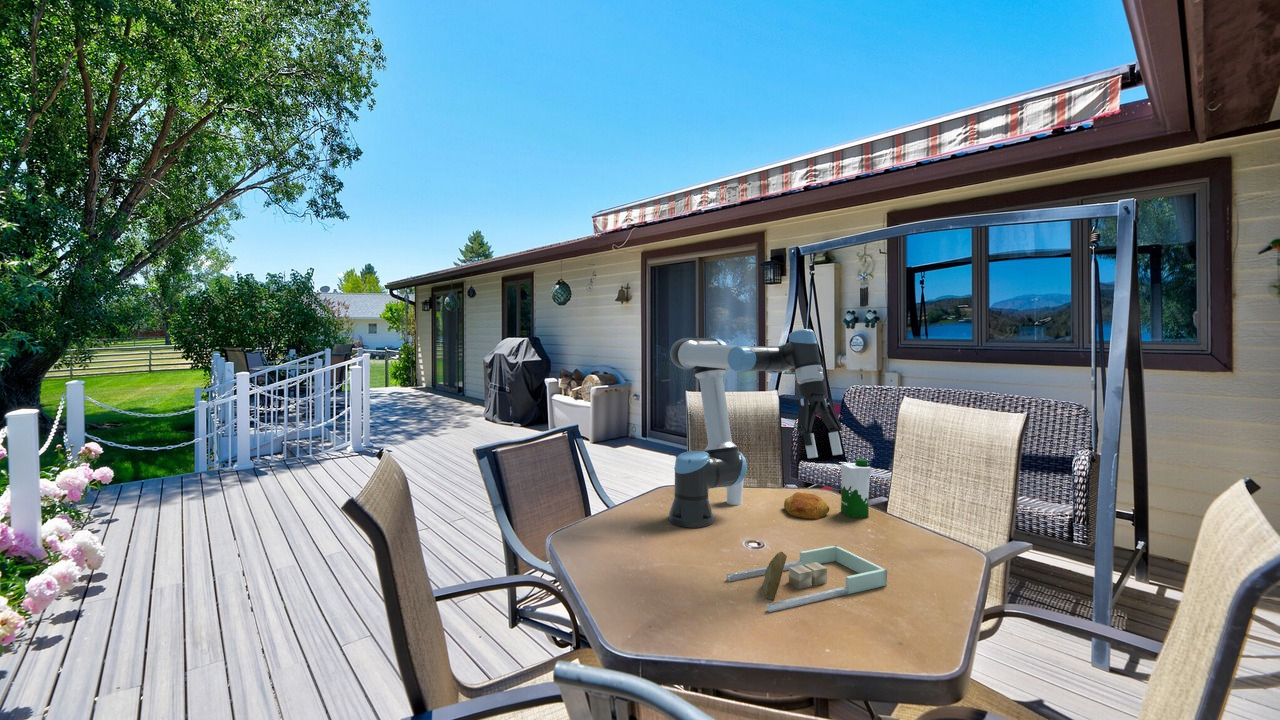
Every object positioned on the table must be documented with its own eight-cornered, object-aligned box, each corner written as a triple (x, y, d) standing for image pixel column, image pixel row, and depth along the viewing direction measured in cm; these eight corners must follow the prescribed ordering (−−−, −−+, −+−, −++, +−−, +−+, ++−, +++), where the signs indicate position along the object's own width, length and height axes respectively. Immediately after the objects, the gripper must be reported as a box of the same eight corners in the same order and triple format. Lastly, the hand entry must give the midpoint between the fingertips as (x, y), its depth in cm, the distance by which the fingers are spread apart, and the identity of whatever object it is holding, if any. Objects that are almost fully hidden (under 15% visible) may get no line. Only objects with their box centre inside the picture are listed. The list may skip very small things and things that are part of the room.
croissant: (791, 510, 209) (789, 489, 209) (833, 512, 199) (831, 490, 200) (777, 519, 197) (775, 496, 197) (821, 522, 188) (818, 498, 188)
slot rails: (769, 612, 125) (769, 605, 125) (726, 580, 142) (726, 574, 142) (848, 594, 135) (848, 588, 135) (799, 565, 152) (799, 560, 152)
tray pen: (848, 594, 135) (848, 578, 135) (799, 565, 152) (800, 551, 151) (886, 585, 140) (887, 570, 140) (835, 559, 157) (835, 545, 157)
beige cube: (814, 585, 140) (815, 570, 140) (803, 579, 143) (804, 564, 143) (826, 583, 141) (827, 568, 141) (815, 576, 145) (816, 562, 145)
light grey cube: (799, 589, 138) (799, 573, 138) (788, 582, 141) (789, 567, 141) (811, 586, 139) (811, 571, 139) (800, 580, 143) (801, 565, 143)
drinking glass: (746, 503, 209) (747, 477, 209) (737, 506, 205) (737, 480, 204) (731, 499, 214) (732, 474, 214) (722, 502, 209) (722, 477, 209)
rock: (781, 597, 128) (802, 580, 135) (762, 564, 131) (783, 549, 137) (753, 609, 135) (774, 591, 142) (735, 577, 138) (757, 562, 144)
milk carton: (872, 518, 194) (874, 462, 193) (847, 518, 193) (849, 462, 192) (860, 510, 203) (862, 457, 202) (836, 510, 202) (838, 457, 201)
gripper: (798, 378, 146) (814, 457, 142) (844, 380, 163) (859, 451, 158) (775, 383, 152) (789, 460, 147) (821, 385, 168) (835, 455, 164)
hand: (825, 456), depth 153 cm, fingers open, 13 cm apart
